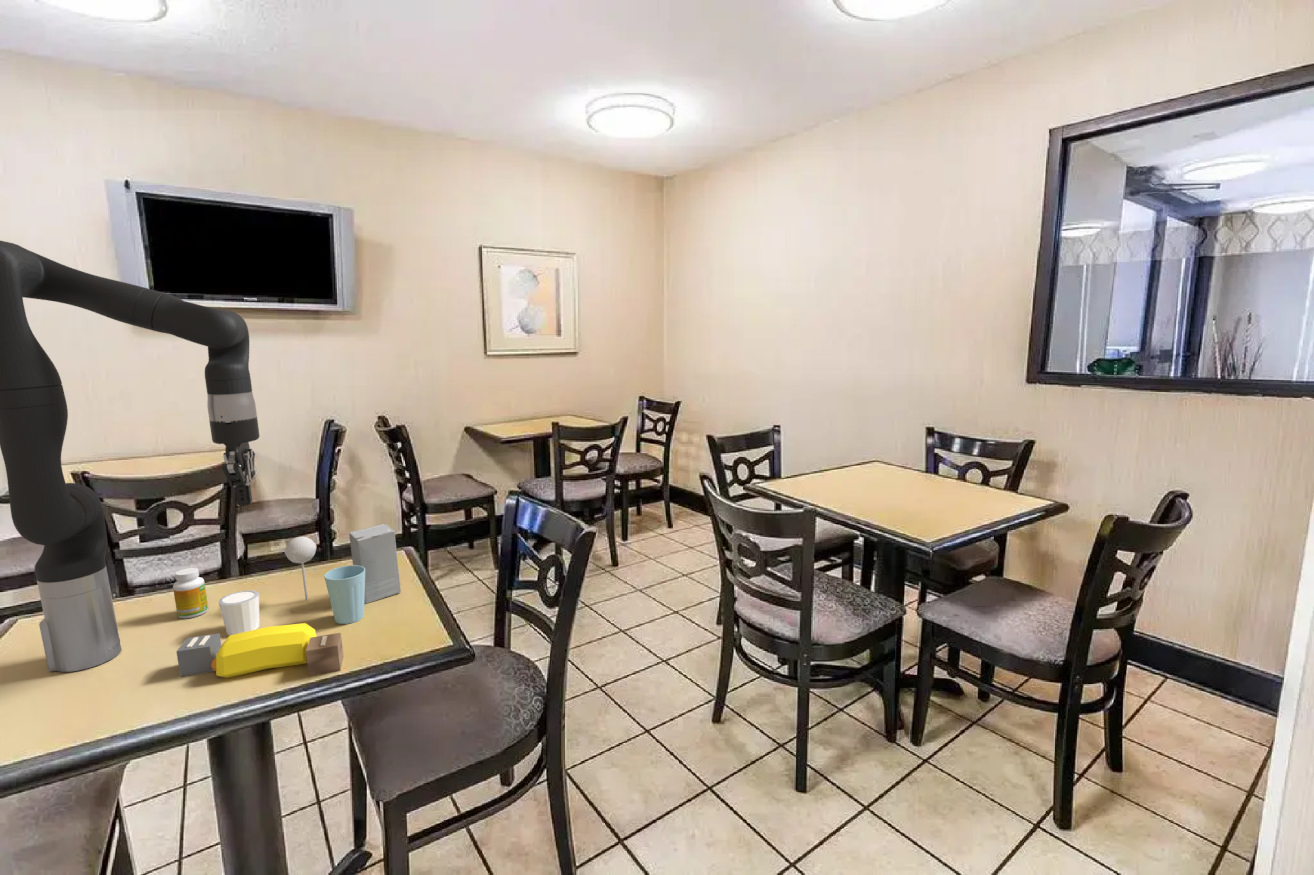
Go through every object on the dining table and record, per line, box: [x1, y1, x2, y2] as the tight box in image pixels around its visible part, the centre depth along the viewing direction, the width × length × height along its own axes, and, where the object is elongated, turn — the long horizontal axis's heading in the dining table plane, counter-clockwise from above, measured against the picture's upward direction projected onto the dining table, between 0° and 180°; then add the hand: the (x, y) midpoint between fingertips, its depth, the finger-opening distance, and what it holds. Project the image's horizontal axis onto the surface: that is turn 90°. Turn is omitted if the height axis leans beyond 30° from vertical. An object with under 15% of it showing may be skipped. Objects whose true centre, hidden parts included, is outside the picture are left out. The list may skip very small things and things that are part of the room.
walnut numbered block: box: [306, 632, 344, 677], centre depth 111 cm, size 5×5×5 cm
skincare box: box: [348, 523, 402, 605], centre depth 139 cm, size 8×7×16 cm
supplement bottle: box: [172, 567, 209, 619], centre depth 131 cm, size 5×5×10 cm
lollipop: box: [284, 536, 317, 602], centre depth 137 cm, size 6×6×15 cm
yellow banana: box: [211, 622, 317, 679], centre depth 112 cm, size 18×7×8 cm
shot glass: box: [218, 589, 260, 636], centre depth 125 cm, size 7×7×7 cm
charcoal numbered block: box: [175, 633, 222, 678], centre depth 111 cm, size 5×5×5 cm
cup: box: [323, 564, 365, 625], centre depth 129 cm, size 8×8×10 cm
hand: (245, 504), depth 119 cm, fingers closed
